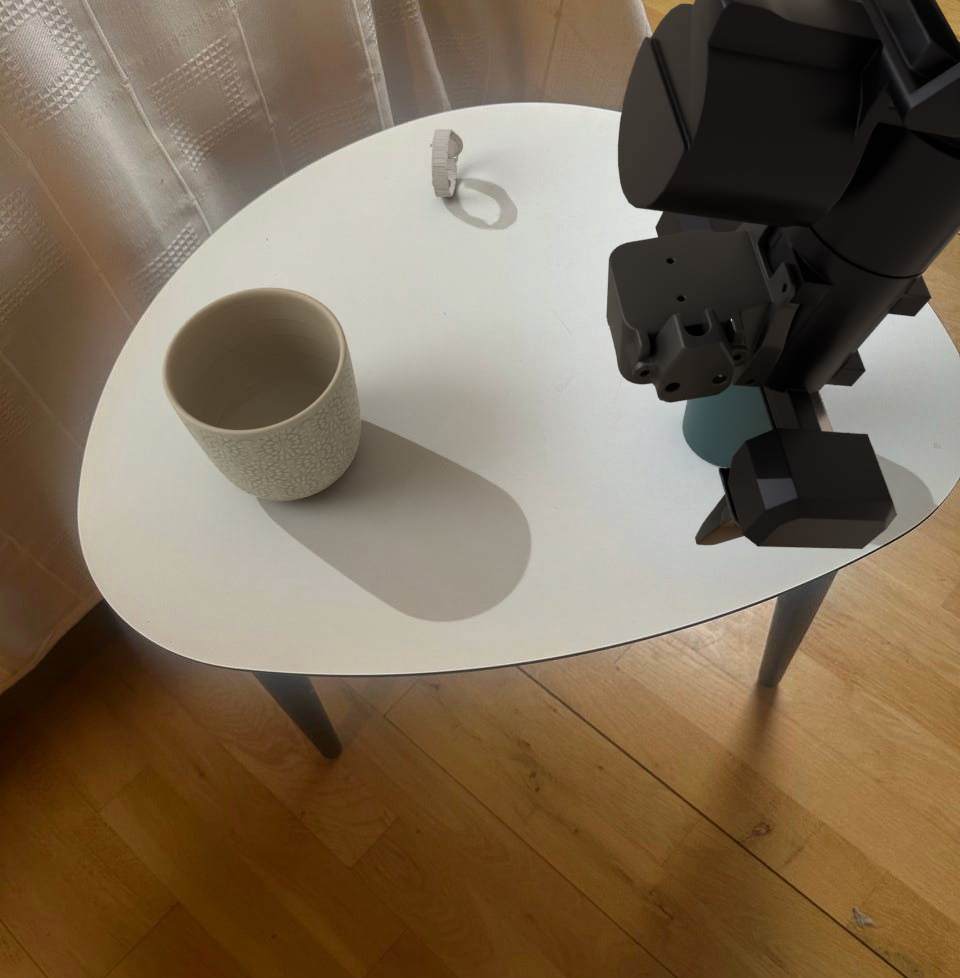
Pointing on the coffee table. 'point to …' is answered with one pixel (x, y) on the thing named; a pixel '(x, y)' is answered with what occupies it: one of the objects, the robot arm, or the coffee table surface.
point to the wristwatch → (445, 161)
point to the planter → (267, 391)
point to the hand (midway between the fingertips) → (684, 467)
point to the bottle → (724, 423)
